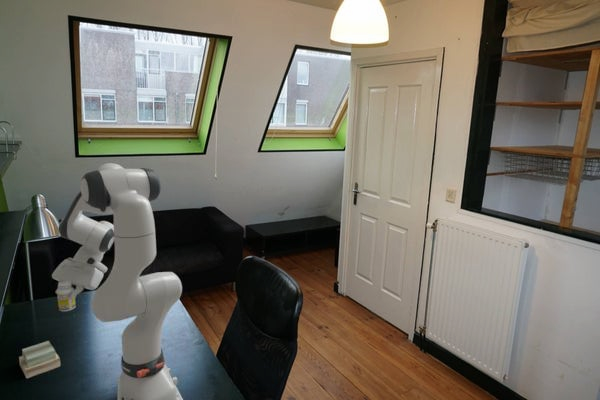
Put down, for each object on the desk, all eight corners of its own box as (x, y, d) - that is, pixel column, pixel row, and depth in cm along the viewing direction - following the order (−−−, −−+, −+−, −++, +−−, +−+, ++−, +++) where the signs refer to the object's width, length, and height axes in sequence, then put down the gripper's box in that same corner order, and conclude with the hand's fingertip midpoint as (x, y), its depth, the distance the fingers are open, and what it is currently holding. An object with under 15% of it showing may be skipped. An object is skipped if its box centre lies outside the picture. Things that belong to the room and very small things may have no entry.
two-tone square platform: (60, 366, 140) (59, 350, 139) (26, 378, 133) (24, 362, 132) (52, 353, 147) (51, 338, 146) (19, 364, 140) (17, 349, 139)
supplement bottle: (72, 303, 151) (69, 278, 149) (78, 308, 148) (76, 283, 146) (56, 308, 147) (53, 283, 145) (62, 313, 144) (60, 287, 142)
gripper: (61, 253, 154) (38, 286, 147) (100, 262, 146) (78, 298, 139) (72, 260, 159) (51, 293, 152) (111, 269, 151) (90, 304, 144)
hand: (64, 295), depth 146 cm, fingers closed on supplement bottle, 5 cm apart
